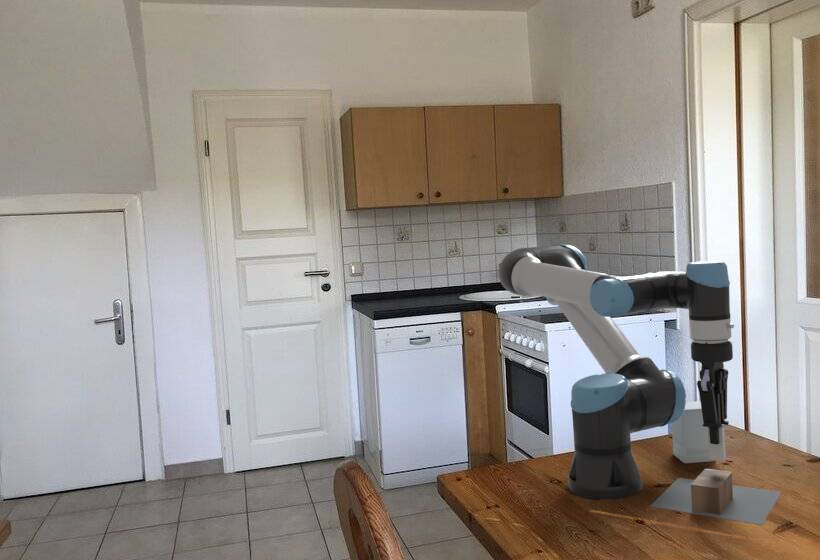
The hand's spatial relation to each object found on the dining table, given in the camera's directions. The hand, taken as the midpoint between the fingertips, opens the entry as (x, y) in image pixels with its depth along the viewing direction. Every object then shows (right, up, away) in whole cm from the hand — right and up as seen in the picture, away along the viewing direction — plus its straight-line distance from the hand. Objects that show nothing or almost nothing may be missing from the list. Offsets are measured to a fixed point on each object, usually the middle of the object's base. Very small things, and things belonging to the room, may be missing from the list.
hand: (717, 458), depth 142 cm
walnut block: (+1, -5, +1) cm, 5 cm away
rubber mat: (-1, -8, -1) cm, 8 cm away
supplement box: (+5, -6, +25) cm, 26 cm away
